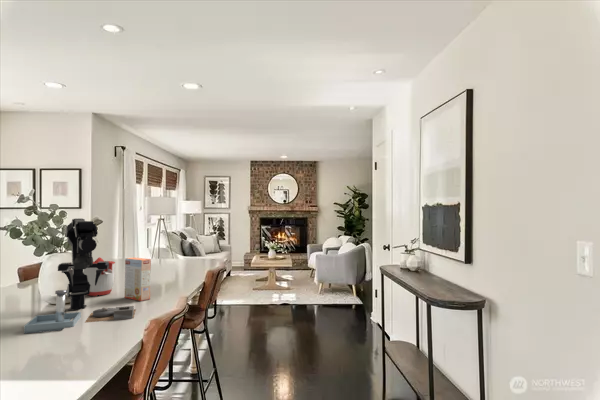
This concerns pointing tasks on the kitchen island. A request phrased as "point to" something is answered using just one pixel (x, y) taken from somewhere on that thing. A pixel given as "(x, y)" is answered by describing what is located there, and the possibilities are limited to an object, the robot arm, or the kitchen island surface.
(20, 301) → the kitchen island surface
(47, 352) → the kitchen island surface
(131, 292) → the cracker box
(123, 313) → the plate
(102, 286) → the citrus juicer
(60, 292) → the lock pin
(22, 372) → the kitchen island surface
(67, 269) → the robot arm
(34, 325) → the tray
